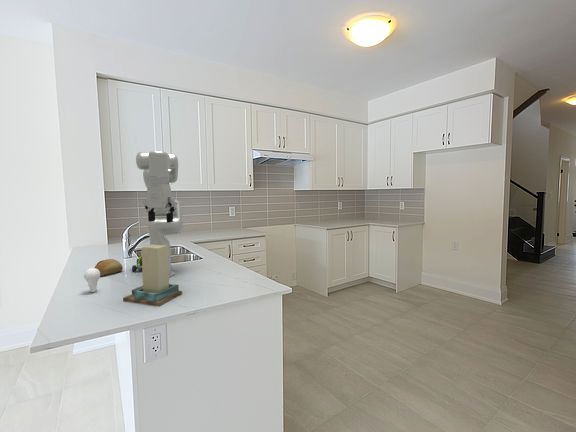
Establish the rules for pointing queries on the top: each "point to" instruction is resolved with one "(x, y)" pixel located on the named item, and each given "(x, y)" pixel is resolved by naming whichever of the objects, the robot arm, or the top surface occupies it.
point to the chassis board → (153, 296)
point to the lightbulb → (92, 278)
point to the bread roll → (109, 266)
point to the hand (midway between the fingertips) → (160, 221)
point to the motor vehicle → (139, 264)
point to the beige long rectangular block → (155, 268)
